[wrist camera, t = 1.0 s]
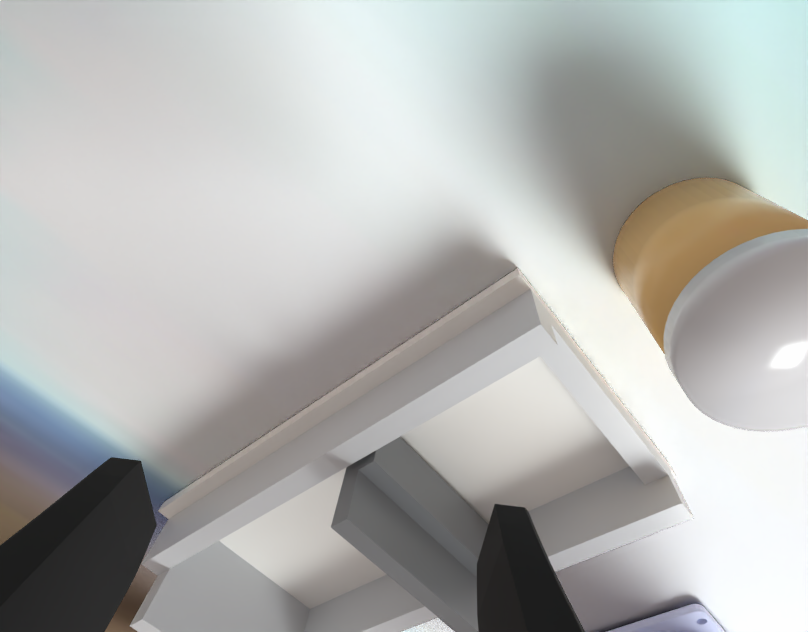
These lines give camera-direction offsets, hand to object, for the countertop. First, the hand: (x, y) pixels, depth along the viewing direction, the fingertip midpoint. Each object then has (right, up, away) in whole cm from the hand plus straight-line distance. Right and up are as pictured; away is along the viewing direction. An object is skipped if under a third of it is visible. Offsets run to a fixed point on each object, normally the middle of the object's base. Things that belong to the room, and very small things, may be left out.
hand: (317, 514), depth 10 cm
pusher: (+3, -4, +13) cm, 13 cm away
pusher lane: (+1, -4, +14) cm, 15 cm away
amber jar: (+12, +6, +7) cm, 15 cm away
